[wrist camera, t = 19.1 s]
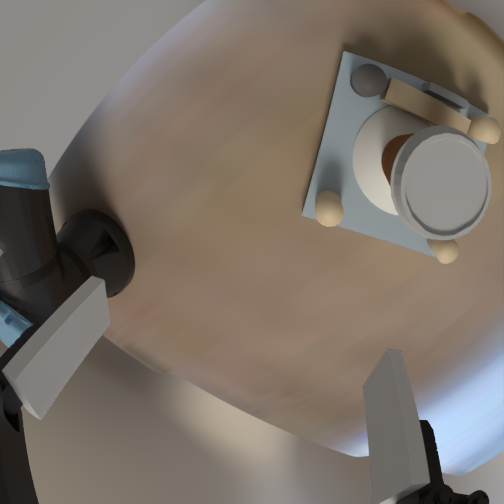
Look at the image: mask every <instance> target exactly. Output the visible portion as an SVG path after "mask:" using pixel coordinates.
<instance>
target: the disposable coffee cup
mask: <svg viewBox="0 0 504 504" xmlns="http://www.w3.org/2000/svg"><path fill="white" fill-rule="evenodd" d="M381 164H382V169H383V172H384V175H385V176H386V179H387V181H388V183H389V185H390V188H391V197H392V200H393V203H394V206H395V209H396V211H397V213H398V215H399V217H400V218H401V220H402V221H403V222H404V223H405V225H406V226H407V227H408V228H410V229H411V230H412V231H413V232H415V233H416V234H418V235H420V236H423V237H425V238H429V239H437V240H452V239H455V238H459V237H461V236H463V235H465V234H467V233H468V232H470V231H471V230H472V229H473V228H474V227H475V226H476V225H477V224H478V223H479V222H480V220H481V219H482V217H483V215H484V213H485V211H486V209H487V207H488V205H489V201H490V197H491V189H492V183H491V173H490V169H489V166H488V163H487V161H486V159H485V157H484V155H483V154H482V152H481V150H480V149H479V147H478V146H477V145H476V143H475V142H474V141H473V140H472V139H471V138H470V137H469V136H467V135H466V134H465V133H464V132H462V131H460V130H458V129H455V128H453V127H448V126H431V127H428V128H425V129H422V130H420V131H418V132H417V133H412V134H406V135H400V136H397V137H395V138H393V139H392V140H390V141H389V142H388V143H387V145H386V146H385V148H384V150H383V153H382V157H381Z"/></svg>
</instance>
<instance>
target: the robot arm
mask: <svg viewBox="0 0 504 504" xmlns="http://www.w3.org/2000/svg"><path fill="white" fill-rule="evenodd" d="M49 188H50V184H49V183H48V181H47V175H46V168H45V161H44V157H43V155H42V154H41V153H40V152H39V151H37V150H35V149H29V148H27V149H11V150H2V151H0V339H1V340H2V341H3V343H4V344H5V345H6V346H7V347H9V348H8V349H7V351H6V352H5V353H4V354H3V355H2V356H1V357H0V504H39V503H38V499H37V496H36V492H35V488H34V484H33V480H32V475H31V471H30V466H29V461H28V455H27V449H26V443H25V436H24V428H23V420H22V412H21V409H20V408H21V406H22V405H24V406H25V408H26V409H27V411H28V412H29V413H31V414H32V415H34V416H35V417H37V418H39V419H40V420H42V418H43V417H44V415H45V414H46V412H47V411H48V409H49V408H50V406H51V405H52V403H53V402H54V400H55V399H56V397H57V396H58V394H59V393H60V391H61V390H62V389H63V387H64V386H65V384H66V383H67V382H68V380H69V379H70V377H71V376H72V374H73V373H74V372H75V370H76V369H77V368H78V366H79V365H80V363H81V362H82V361H83V359H84V358H85V357H86V355H87V354H88V353H89V351H90V350H91V349H92V347H93V346H94V345H95V343H96V342H97V341H98V339H99V338H100V336H101V335H102V334H103V333H104V331H105V330H106V329H107V328H108V326H109V325H110V318H109V311H108V304H107V298H110V297H113V296H115V295H117V294H119V293H120V292H122V291H123V290H124V289H125V287H126V286H127V285H128V284H129V283H130V282H131V280H132V278H133V275H134V269H135V262H134V255H133V251H132V248H131V246H130V243H129V241H128V239H127V237H126V236H125V234H124V232H123V231H122V230H121V228H120V227H119V226H118V225H117V224H116V223H115V222H114V221H113V220H112V219H111V218H109V217H108V216H106V215H105V214H103V213H101V212H98V211H95V210H83V211H81V212H79V213H77V214H75V215H73V216H72V217H70V218H69V219H68V220H67V221H66V222H65V223H64V225H63V226H62V228H61V230H60V231H59V232H58V233H57V235H56V233H55V228H54V222H53V216H52V210H51V203H50V196H49ZM363 393H364V402H365V411H366V421H367V432H368V445H369V459H370V479H371V504H393V503H395V502H396V504H489V498H488V496H487V494H486V493H485V492H484V491H482V490H477V491H475V492H473V493H472V494H470V495H464V494H458V493H454V492H453V491H452V489H451V488H450V487H449V486H448V485H445V484H444V482H443V479H442V472H441V466H440V461H439V455H438V451H437V445H436V443H435V436H434V431H433V429H432V427H431V425H430V424H429V422H428V421H427V420H419V417H418V413H417V408H416V404H415V400H414V396H413V392H412V388H411V384H410V380H409V376H408V373H407V369H406V365H405V362H404V358H403V355H402V352H401V350H394V349H388V348H387V350H386V351H385V353H384V354H383V356H382V358H381V359H380V361H379V362H378V364H377V365H376V367H375V368H374V370H373V371H372V373H371V374H370V376H369V377H368V379H367V380H366V382H365V383H364V385H363Z"/></svg>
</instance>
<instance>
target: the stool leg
mask: <svg viewBox="0 0 504 504" xmlns="http://www.w3.org/2000/svg"><path fill="white" fill-rule="evenodd" d="M350 85H351V87H352V89H353V91H354V92H355V93H356V94H358V95H359V96H361V97H366V98H369V97H373V96H377V95H379V94H381V93H382V94H381V97H380V101H382V102H385V103H387V104H389V105H391V106H393V107H396V108H398V109H400V110H402V111H404V112H406V113H408V114H410V115H412V116H414V117H416V118H418V119H420V120H422V121H424V122H426V123H427V124H429V125H431V126H448V127H453V128H455V129H458V130H460V131H462V132H464V133H465V134H466V135H467V132H468V129H469V126H470V123H471V120H469V119H468V118H466V117H465V116H463V115H461V114H460V113H458V112H457V111H455V110H453V109H452V108H450V107H448V106H447V105H445V104H443V103H442V102H440V101H438V100H436V99H435V98H433V97H431V96H429V95H427V94H425V93H423V92H422V91H420V90H418V89H416V88H414V87H412V86H410V85H408V84H406V83H404V82H402V81H400V80H397V79H395V78H393V77H391V78H388V79H387V77H386V74H385V73H384V71H383V70H382V69H381V68H380V67H378V66H377V65H374V64H369V63H368V64H363V65H361V66H359V67H358V68H357V69H356V70H355V71H354V72H353V73H352V75H351V77H350Z"/></svg>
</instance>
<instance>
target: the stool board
mask: <svg viewBox="0 0 504 504" xmlns="http://www.w3.org/2000/svg"><path fill="white" fill-rule="evenodd" d="M368 63H369V64H374V65H377V66H378V67H380V68H381V69H382V70H383V71H384V73H385V74H386V77H387V79H388V78H391V77H393V78H395V79H397V80H400V81H402V82H404V83H406V84H408V85H410V86H412V87H414V88H416V89H418V90H420V91H422V92H423V93H425V94H427V95H429V96H431V97H433V98H435V99H436V100H438V101H440V102H442V103H443V104H445V105H447V106H448V107H450V108H452V109H453V110H455V111H457V112H458V113H460V114H461V115H463V116H465V117H466V118H468V119H469V120H471V123H470V126H469V129H468V132H467V136H469V137H470V138H471V139H472V140H473V141H474V142H475V143H476V145H477V146H478V147H479V149H480V150H481V152H482V154H483V155H484V154H485V150H486V146H487V143H490V144H495V143H497V142H498V141H499V139H500V136H501V129H500V125H499V123H498V122H497V120H496V119H494V118H493V117H491V116H490V115H488V114H486V113H485V112H483V111H481V110H480V109H478V108H476V107H475V106H473V105H471V104H469V103H468V101H467V100H466V99H464V98H462V97H460V96H458V95H456V94H454V93H453V92H451V91H449V90H447V89H445V88H443V87H441V86H439V85H437V84H435V83H432V82H426V81H424V80H422V79H420V78H417V77H415V76H413V75H410V74H408V73H406V72H403V71H401V70H398V69H396V68H393V67H390V66H388V65H385V64H382V63H380V62H377V61H374V60H371V59H368V58H365V57H362V56H359V55H356V54H352V53H349V52H346V51H344V52H343V54H342V58H341V63H340V67H339V71H338V76H337V80H336V84H335V88H334V92H333V97H332V101H331V105H330V109H329V113H328V117H327V121H326V125H325V129H324V133H323V137H322V141H321V144H320V148H319V152H318V156H317V160H316V163H315V167H314V171H313V174H312V178H311V182H310V185H309V189H308V193H307V196H306V200H305V203H304V207H303V211H302V216H305V217H308V218H312V219H315V220H318V222H319V223H320V224H322V225H324V226H327V227H332V226H335V225H336V226H339V227H343V228H346V229H349V230H352V231H356V232H359V233H362V234H366V235H369V236H372V237H375V238H378V239H381V240H385V241H388V242H391V243H394V244H397V245H400V246H403V247H406V248H409V249H412V250H415V251H418V252H421V253H424V254H427V255H430V256H433V257H436V258H438V260H439V261H440V262H441V263H444V264H448V263H451V262H453V261H454V260H455V259H456V257H457V256H458V253H459V246H458V244H457V243H456V242H455V241H454V239H452V240H437V239H429V238H425V237H423V236H420V235H418V234H416V233H415V232H413V231H412V230H411V229H410V228H408V227H407V226H406V225H405V223H404V222H403V221H402V220H401V218H400V217H399V215H398V213H397V211H396V209H395V206H394V203H393V200H392V197H391V188H390V185H389V183H388V181H387V179H386V176H385V175H384V172H383V169H382V164H381V157H382V153H383V150H384V148H385V146H386V145H387V143H388V142H389V141H390V140H392V139H393V138H395V137H397V136H400V135H406V134H412V133H417V132H418V131H420V130H422V129H425V128H428V127H431V125H429V124H427V123H426V122H424V121H422V120H420V119H418V118H416V117H414V116H412V115H410V114H408V113H406V112H404V111H402V110H400V109H398V108H396V107H393V106H391V105H389V104H387V103H385V102H382V101H380V97H381V94H382V93H381V94H379V95H377V96H373V97H369V98H366V97H361V96H359V95H358V94H356V93H355V92H354V91H353V89H352V87H351V85H350V77H351V75H352V73H353V72H354V71H355V70H356V69H357V68H358V67H359V66H361V65H363V64H368Z"/></svg>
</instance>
